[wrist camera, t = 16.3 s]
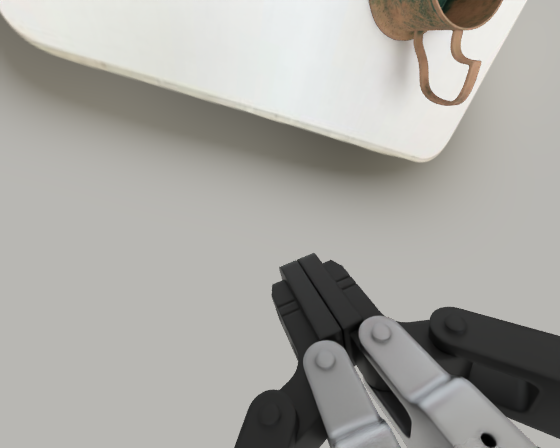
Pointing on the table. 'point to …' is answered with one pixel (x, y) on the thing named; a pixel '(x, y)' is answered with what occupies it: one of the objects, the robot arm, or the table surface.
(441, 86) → the table surface
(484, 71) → the table surface
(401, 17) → the mug
